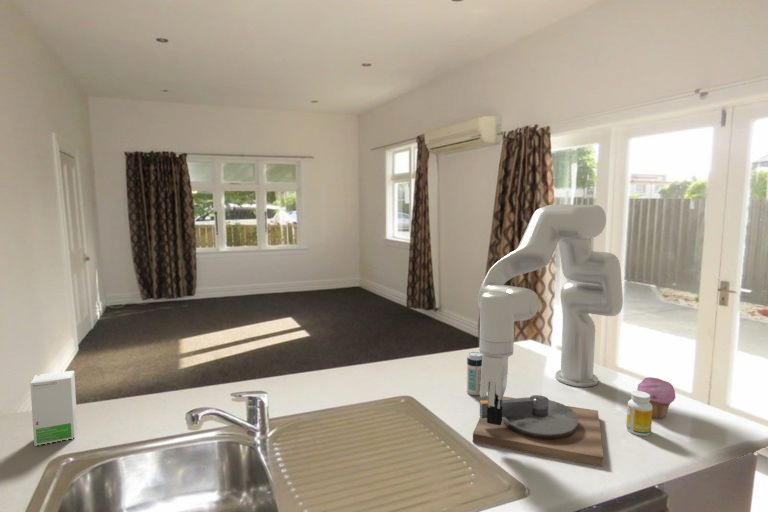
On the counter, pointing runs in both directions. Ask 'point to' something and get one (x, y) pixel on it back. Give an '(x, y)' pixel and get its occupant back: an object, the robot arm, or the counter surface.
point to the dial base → (574, 447)
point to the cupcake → (658, 395)
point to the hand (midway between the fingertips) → (494, 422)
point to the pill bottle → (474, 373)
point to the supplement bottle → (639, 414)
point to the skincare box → (53, 407)
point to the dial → (536, 417)
